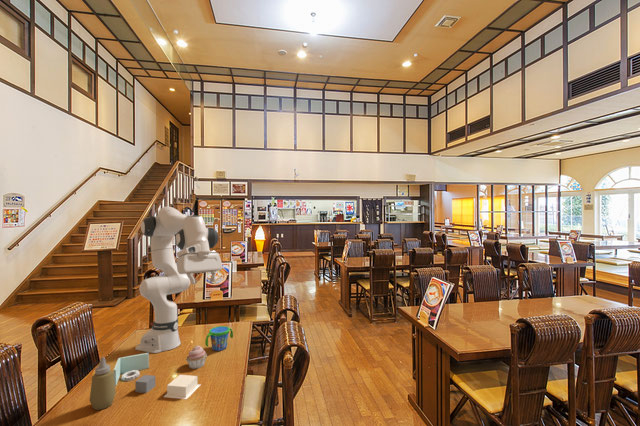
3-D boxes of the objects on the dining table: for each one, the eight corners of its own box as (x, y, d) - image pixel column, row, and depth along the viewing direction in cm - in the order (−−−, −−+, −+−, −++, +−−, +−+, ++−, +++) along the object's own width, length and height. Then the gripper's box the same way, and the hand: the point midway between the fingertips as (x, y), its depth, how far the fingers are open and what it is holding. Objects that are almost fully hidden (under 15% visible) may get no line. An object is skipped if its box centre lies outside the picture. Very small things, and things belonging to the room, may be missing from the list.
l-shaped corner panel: (113, 388, 126) (113, 370, 126) (118, 374, 137) (118, 358, 137) (146, 380, 131) (146, 363, 131) (148, 368, 142) (148, 352, 142)
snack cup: (228, 341, 171) (228, 323, 171) (237, 346, 163) (237, 328, 163) (201, 349, 160) (201, 330, 160) (209, 356, 152) (209, 336, 152)
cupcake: (196, 373, 136) (196, 351, 136) (181, 369, 139) (181, 347, 140) (211, 364, 144) (211, 343, 144) (197, 360, 148) (197, 340, 148)
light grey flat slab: (148, 400, 116) (148, 398, 116) (171, 380, 130) (171, 379, 130) (190, 404, 113) (190, 402, 113) (210, 384, 127) (210, 382, 127)
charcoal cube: (135, 393, 121) (135, 381, 121) (144, 386, 125) (144, 374, 125) (146, 394, 120) (146, 382, 120) (155, 387, 125) (155, 375, 125)
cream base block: (167, 395, 118) (167, 385, 118) (179, 384, 126) (179, 374, 126) (185, 397, 116) (185, 386, 116) (197, 385, 124) (197, 376, 124)
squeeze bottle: (98, 399, 117) (98, 353, 117) (120, 398, 118) (120, 352, 118) (84, 413, 109) (83, 363, 109) (107, 411, 109) (107, 362, 110)
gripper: (213, 252, 139) (218, 282, 135) (172, 253, 121) (177, 287, 117) (222, 248, 136) (228, 278, 132) (182, 248, 118) (187, 283, 115)
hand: (203, 282), depth 125 cm, fingers open, 8 cm apart
